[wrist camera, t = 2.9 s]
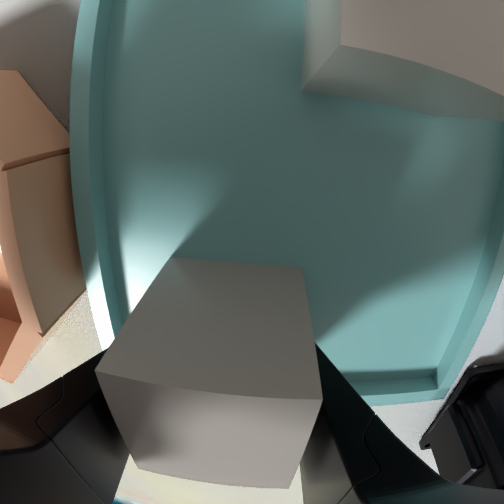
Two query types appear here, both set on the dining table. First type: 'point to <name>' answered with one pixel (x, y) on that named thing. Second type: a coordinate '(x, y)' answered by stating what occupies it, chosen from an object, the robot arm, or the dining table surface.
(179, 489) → the dining table surface
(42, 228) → the bowl
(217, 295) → the cube
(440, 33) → the grey cardboard cube
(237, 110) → the tray
